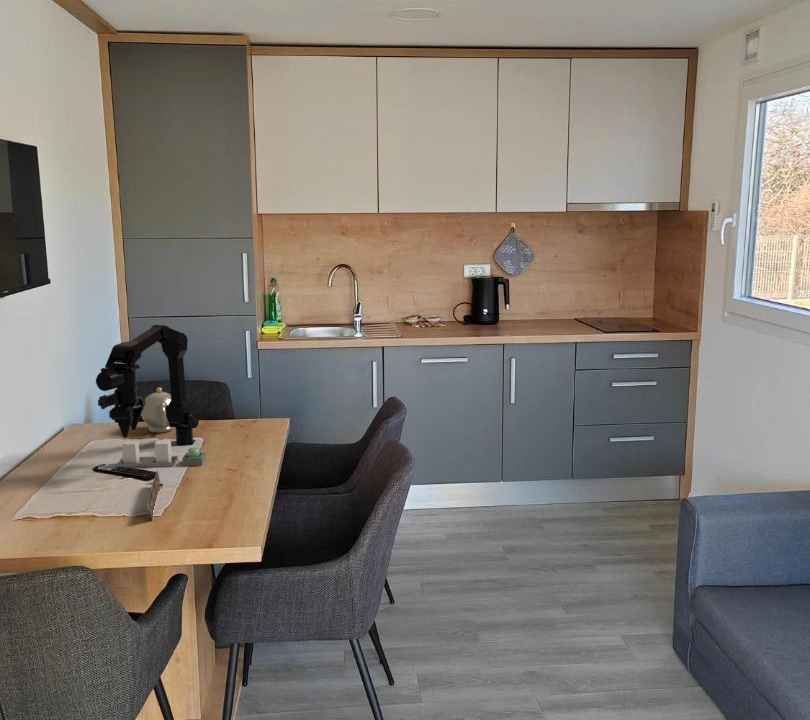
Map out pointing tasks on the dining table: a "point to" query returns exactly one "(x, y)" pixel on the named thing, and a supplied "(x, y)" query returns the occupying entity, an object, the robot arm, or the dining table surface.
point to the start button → (193, 452)
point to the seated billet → (163, 451)
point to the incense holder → (153, 496)
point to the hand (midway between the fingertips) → (129, 433)
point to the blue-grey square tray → (145, 450)
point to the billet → (131, 452)
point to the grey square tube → (194, 460)
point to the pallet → (148, 463)
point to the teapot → (157, 411)
